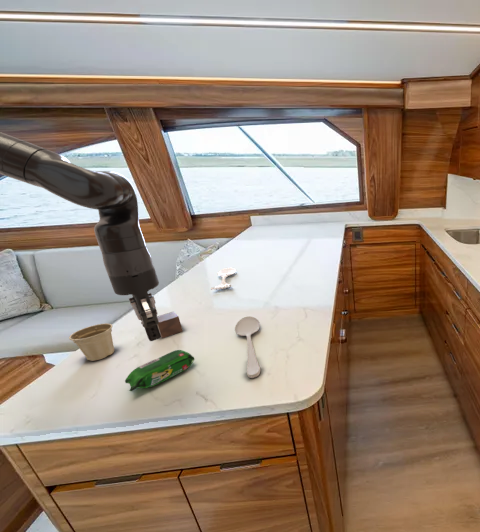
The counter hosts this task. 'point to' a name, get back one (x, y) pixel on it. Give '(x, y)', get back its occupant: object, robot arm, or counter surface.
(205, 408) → the counter surface
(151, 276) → the robot arm
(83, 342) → the flower pot
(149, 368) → the snack package
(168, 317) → the walnut block
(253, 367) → the spoon
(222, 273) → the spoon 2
